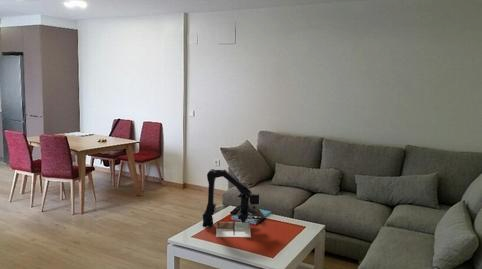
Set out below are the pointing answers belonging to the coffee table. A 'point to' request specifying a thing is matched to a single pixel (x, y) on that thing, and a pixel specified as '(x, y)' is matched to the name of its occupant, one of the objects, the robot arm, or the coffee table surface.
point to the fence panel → (242, 225)
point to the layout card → (233, 232)
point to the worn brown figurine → (258, 213)
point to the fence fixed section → (225, 225)
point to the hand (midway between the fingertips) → (243, 224)
